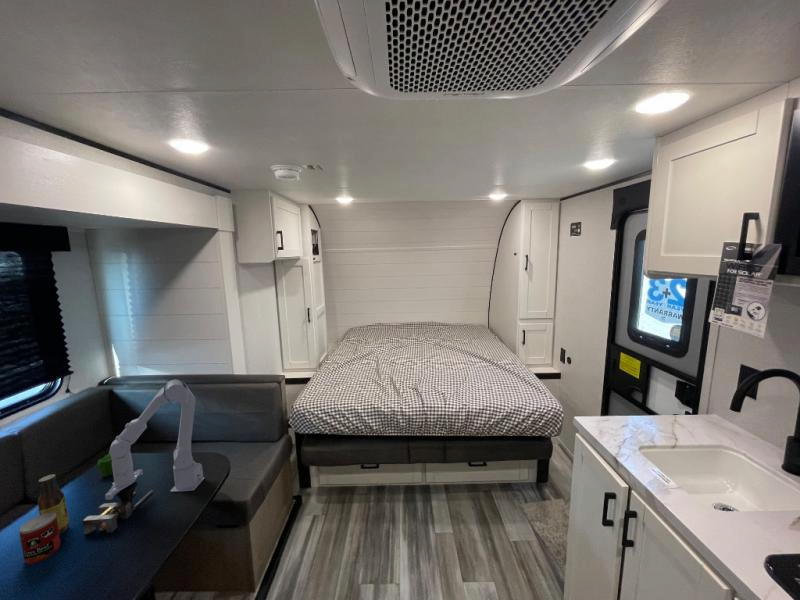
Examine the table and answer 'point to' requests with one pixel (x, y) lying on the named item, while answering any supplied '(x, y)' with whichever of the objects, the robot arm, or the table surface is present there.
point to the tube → (102, 525)
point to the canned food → (39, 538)
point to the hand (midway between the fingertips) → (127, 504)
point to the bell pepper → (105, 466)
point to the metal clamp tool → (110, 519)
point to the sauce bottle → (53, 501)
